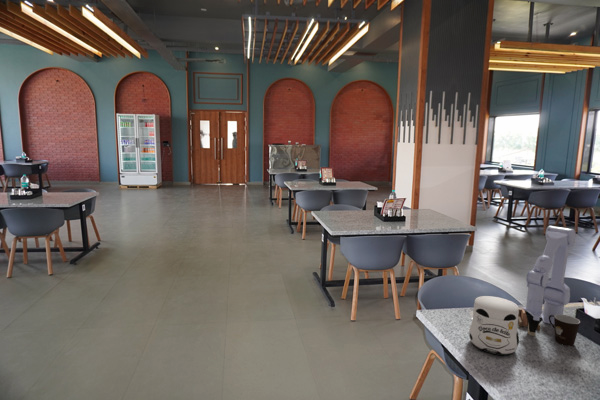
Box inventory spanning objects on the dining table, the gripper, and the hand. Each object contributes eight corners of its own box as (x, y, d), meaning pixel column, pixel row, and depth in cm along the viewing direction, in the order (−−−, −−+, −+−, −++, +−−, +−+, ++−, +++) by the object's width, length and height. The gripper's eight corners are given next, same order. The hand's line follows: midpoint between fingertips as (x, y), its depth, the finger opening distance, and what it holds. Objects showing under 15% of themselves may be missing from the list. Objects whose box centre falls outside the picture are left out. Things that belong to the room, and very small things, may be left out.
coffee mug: (581, 349, 152) (584, 324, 150) (557, 346, 153) (560, 322, 152) (567, 335, 163) (570, 312, 162) (545, 332, 165) (547, 310, 163)
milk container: (486, 360, 142) (490, 313, 139) (459, 337, 159) (463, 295, 156) (528, 357, 144) (533, 311, 142) (497, 335, 161) (501, 294, 159)
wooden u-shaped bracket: (516, 319, 177) (517, 308, 177) (536, 322, 174) (537, 312, 174) (519, 327, 169) (520, 316, 169) (539, 330, 166) (541, 319, 166)
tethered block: (520, 321, 176) (521, 308, 175) (533, 323, 174) (534, 310, 173) (525, 334, 163) (526, 320, 162) (538, 336, 161) (540, 322, 160)
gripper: (521, 292, 169) (518, 321, 171) (526, 303, 156) (523, 335, 158) (540, 294, 167) (537, 324, 168) (546, 306, 153) (543, 339, 155)
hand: (531, 330), depth 163 cm, fingers open, 3 cm apart
